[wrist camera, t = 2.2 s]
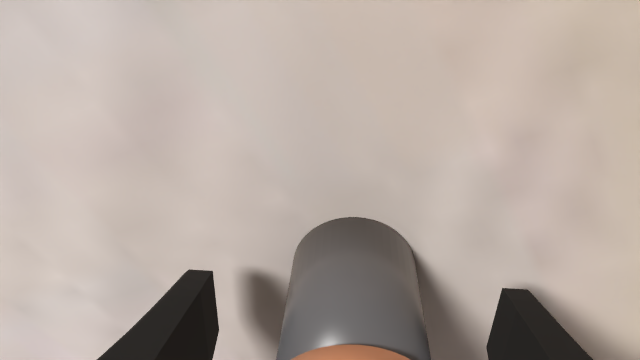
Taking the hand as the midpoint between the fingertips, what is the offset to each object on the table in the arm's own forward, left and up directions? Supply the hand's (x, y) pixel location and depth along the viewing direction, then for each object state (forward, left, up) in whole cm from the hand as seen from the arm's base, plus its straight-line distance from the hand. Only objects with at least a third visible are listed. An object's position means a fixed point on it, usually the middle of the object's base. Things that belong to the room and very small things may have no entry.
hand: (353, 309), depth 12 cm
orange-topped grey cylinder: (0, 0, -2) cm, 2 cm away
